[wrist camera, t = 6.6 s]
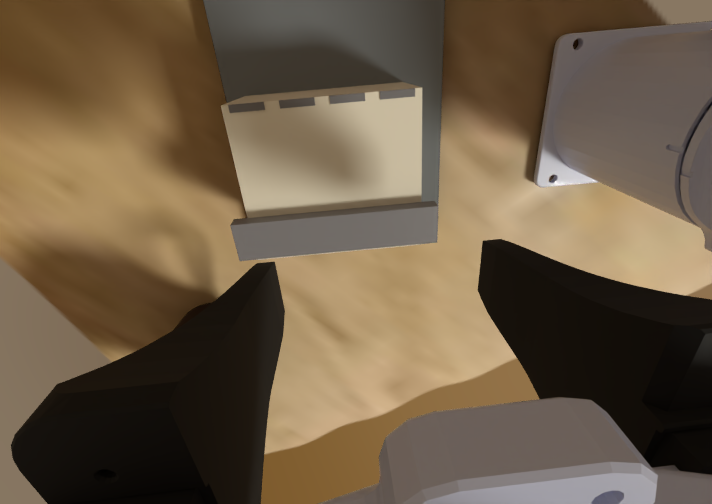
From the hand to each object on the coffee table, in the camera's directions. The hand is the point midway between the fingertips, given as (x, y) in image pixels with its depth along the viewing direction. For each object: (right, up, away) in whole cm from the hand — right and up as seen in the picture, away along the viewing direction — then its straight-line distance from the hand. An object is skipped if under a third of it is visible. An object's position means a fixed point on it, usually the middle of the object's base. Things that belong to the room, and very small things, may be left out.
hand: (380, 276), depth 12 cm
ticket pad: (-2, +6, +7) cm, 10 cm away
